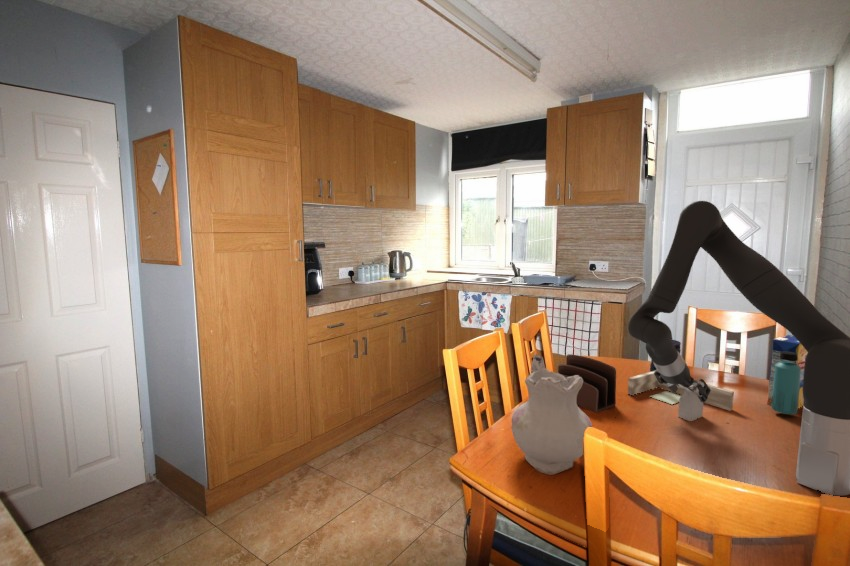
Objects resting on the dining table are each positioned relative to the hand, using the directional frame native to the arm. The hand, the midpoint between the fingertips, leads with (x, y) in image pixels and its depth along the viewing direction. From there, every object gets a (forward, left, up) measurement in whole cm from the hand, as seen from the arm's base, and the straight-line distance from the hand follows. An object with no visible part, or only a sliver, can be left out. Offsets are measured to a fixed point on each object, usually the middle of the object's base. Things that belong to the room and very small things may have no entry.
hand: (689, 395), depth 132 cm
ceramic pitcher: (-55, +5, -7) cm, 56 cm away
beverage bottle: (+27, -14, -7) cm, 31 cm away
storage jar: (+27, +24, -7) cm, 37 cm away
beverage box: (+38, -11, -7) cm, 40 cm away
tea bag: (+1, 0, -7) cm, 7 cm away
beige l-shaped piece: (+10, +9, -7) cm, 15 cm away
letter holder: (-17, +26, -8) cm, 32 cm away
